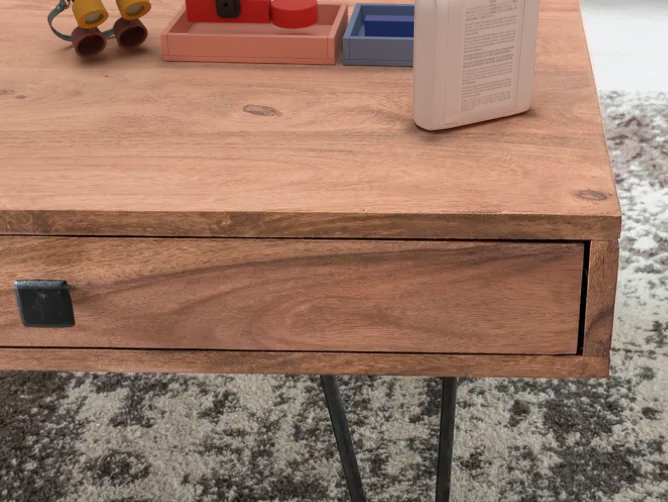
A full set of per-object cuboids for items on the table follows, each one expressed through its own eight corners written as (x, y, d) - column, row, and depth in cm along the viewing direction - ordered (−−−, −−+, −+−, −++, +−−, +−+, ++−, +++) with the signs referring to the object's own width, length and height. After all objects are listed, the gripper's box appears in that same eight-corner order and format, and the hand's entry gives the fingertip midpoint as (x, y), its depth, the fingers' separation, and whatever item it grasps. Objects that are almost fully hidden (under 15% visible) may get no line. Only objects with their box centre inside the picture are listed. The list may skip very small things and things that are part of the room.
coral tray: (163, 60, 98) (159, 34, 97) (190, 25, 107) (187, 0, 105) (334, 64, 97) (333, 37, 95) (348, 28, 105) (347, 2, 103)
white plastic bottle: (510, 95, 90) (520, -56, 83) (538, 112, 87) (552, -43, 79) (404, 118, 86) (405, -37, 79) (429, 137, 83) (433, -23, 76)
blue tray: (343, 64, 97) (342, 38, 95) (356, 28, 105) (355, 2, 103) (521, 69, 95) (523, 41, 93) (520, 31, 103) (522, 5, 101)
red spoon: (183, 27, 99) (180, 3, 98) (194, 11, 103) (192, -11, 101) (314, 29, 98) (313, 5, 97) (321, 14, 101) (320, -9, 100)
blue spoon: (362, 48, 98) (362, 25, 97) (368, 32, 102) (367, 10, 101) (497, 51, 97) (498, 27, 96) (497, 35, 101) (499, 12, 99)
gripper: (189, -203, 96) (209, -10, 106) (147, -176, 85) (175, 37, 95) (270, -204, 95) (282, -9, 105) (239, -176, 84) (256, 38, 94)
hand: (231, 12), depth 100 cm, fingers closed on red spoon, 1 cm apart
